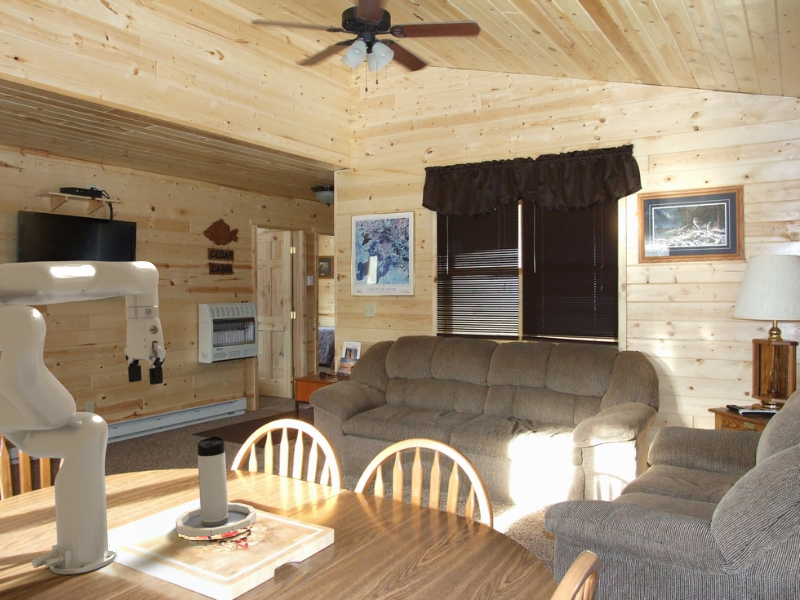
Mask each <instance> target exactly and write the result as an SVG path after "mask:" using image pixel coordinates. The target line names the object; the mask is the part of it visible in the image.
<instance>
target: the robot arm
mask: <svg viewBox="0 0 800 600" xmlns="http://www.w3.org/2000/svg"><path fill="white" fill-rule="evenodd" d="M159 280H160V275H159V271H158V269H157V267H156V266H155V265H154V264H153V263H151V262H149V261H147V260H146V261H144V260H143V261H139V260H138V261H100V260H98V261H97V260H96V261H95V260H68V261H67V260H65V261H63V260H61V261H59V260H58V261H29V262H28V261H27V262H11V263H9V262H8V263H1V264H0V352H1V355H0V434H1V435H2V437H4V438H6V439H7V440H8V441H9V442H10V443H11V444H12V445H13V446H15V447H16V448H17V449H18V450H20V451H21V452H22V453H24V454H25V455H26V456H27V455H28V457H29V456H30V457H32V458H40V459H61V460H62V459H63V462H62V464H61V467H59V470H57V471H58V472H57V473H56V475H55V479H54V484H53V486H54V501H55V502H54V503H55V505H54V507H55V521H56V522H55V524H56V526H55V528H56V544H54V545H52V546H51V550H50V551H48V553H47V554H44V555H39V556H37V557H34V558H33V559H32V560H31V564H32V567H33V568H34V569H36V568H40V567H42V566H45V567H46V568H49V570H50V571H51V573H55V574H56V575H57V574H58V575H78V574H83V573H87V572H91V571H94V570H98V569H100V568H102V567H104V566H107V565H108V564H110V563H112V562H113V561H114V560H115V559H116V558H117V552H116V553H115V552H113V551H109V550H108V545H109V539H108V538H109V537H108V536H109V535H108V513H107V493H106V491H107V487H106V470H105V469H106V468H105V467H106V452H107V447H108V441H109V425H108V424H107V421H106V419H104V418H103V417H102V416H101V415H99V414H97V413H94V412H89V411H77V403H76V401H75V399H74V397H73V395H72V394H71V393H70V392H69V390H67V388H66V387H65V386H64V385H63V384H62V383H61V382H60V381H59V380H58V379H57V378H56V376H55V375H54V374H53V373H52V372H51V371H50V370H49V369H48V367H47V366H46V365H45V363H44V356H43V355H44V347H45V341H46V334H47V324H46V321H45V318H44V316H43V314H42V313H41V312H40V311H39V310H38V309H36V308H34V307H32V306H36V305H37V306H41V305H51V304H54V305H55V304H62V303H70V302H71V303H72V302H82V301H94V300H100V299H101V300H102V299H107V298H113V297H120V296H121V297H123V296H125V315H126V316H125V318H126V322H127V324H126V346H125V347H124V348H123V351H124V354H125V359H126V366H127V374H128V375H127V378H128V383H136V382H141V381H142V380H143V379H142V378H143V377H142V365H141V364H140V363H141V361H147V362H148V364H149V366H150V368H148V374H149V385H151V386H152V385H153V386H154V385H159V384H163V382H164V378H163V377H164V376H163V367H164V365H165V364H164V362H165V359H166V358H165V357H166V353H167V351H166V349H165V345H164V335H163V329H162V324H161V319H160V316H159V315H160V313H159V312H160V309H159V291H158V290H159V288H158V285H159V282H160V281H159Z"/></svg>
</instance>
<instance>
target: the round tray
mask: <svg viewBox="0 0 800 600" xmlns="http://www.w3.org/2000/svg"><path fill="white" fill-rule="evenodd" d="M254 522H256V523H257V511H256V510H255V508H254V507H253V506H252V505H251V504H250V505H249V504H245V503H241V502H228V521H227V522H226V523H225V524H222V525H219V526H214V527H207V526H203V525H202V524H201V509H200V506H198V507H195V508H193V509H191V510H190V509H189V510H187V511H185V512H183V513H182V514H181V515H179V516H178V517H176V519H175V529H176V528H177V531H176V533H177V532H178V534H181V535H185V536H188V537H197V536H198V537H199V536H215V535H219V534H223V533H226V532H231V531H235V530H238V529H241V528H244V527H247V526H250V525H251V524H252V523H254Z"/></svg>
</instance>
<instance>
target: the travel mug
mask: <svg viewBox="0 0 800 600" xmlns="http://www.w3.org/2000/svg"><path fill="white" fill-rule="evenodd" d="M196 445H197V467H198V470H197V471H198V482H199V483H198V484H199V485H198V486H199V505H200V506H199V507H200V509H201V524H202V525H203V526H207V527H214V526H219V525H222V524H225V523H226V522H227V521H228V503H229V502H228V485H227V484H228V483H227V482H228V481H227V464H226V463H227V462H226V450H225V449H226V448H225V439H224V438H223V437H220V435H212V436H211V437H207V438H204V439H201V440H199V441H198V442H197V444H196Z"/></svg>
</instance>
